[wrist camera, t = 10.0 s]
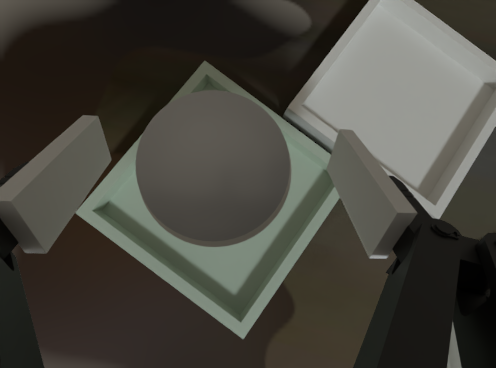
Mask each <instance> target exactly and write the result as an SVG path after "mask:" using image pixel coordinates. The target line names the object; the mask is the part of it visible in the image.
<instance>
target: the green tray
mask: <svg viewBox="0 0 496 368" xmlns="http://www.w3.org/2000/svg"><path fill="white" fill-rule="evenodd" d="M207 90H218V91H226V92H231V93H235V94H238V95H241V96H244V97H246V98H248V99H250V100H252V101H253V102H255V103H256V104H258V105H259V106H261V107H262V108H263V109H264V110H265V111H266V112H268V114H269V115H270V116H271V117H272V118H273V119H274V120H275V122H276V123H277V125H278V126H279V128H280V130H281V132H282V134H283V135H284V138H285V141H286V143H287V147H288V150H289V154H290V159H291V168H292V172H291V183H290V189H289V192H288V195H287V198H286V201H285V203H284V205H283V207H282V209H281V210H280V212H279V213H278V215H277V216H276V217H275V219H274V220H273V221H272V222H271V223H270V224H269V225H268V226H267V227H266V228H265V229H264V230H263V231H261V232H260V233H258V234H257V235H256V236H254V237H252V238H250V239H248V240H246V241H243V242H241V243H238V244H234V245H230V246H224V247H204V246H199V245H194V244H191V243H188V242H185V241H183V240H181V239H179V238H176V237H175V236H173V235H172V234H170V233H169V232H167V231H166V230H165V229H164V228H163V227H161V226H160V225H159V224H158V223H157V221H156V220H155V219H154V218H153V217H152V215H151V214H150V212H149V211H148V209H147V208H146V206H145V203H144V201H143V199H142V196H141V193H140V190H139V186H138V183H137V177H136V154H137V149H138V145H139V142H140V139H141V137H142V135H141V136H140V137H139V138H138V140H137V141H136V142H135V143H134V144H133V146H132V147H131V148H130V149H129V150H128V151H127V153H126V154H125V155H124V156H123V157H122V158H121V160H120V161H119V162H118V163H117V164H116V166H115V167H114V168H113V169H112V170H111V171H110V173H109V174H108V175H107V176H106V177H105V178H104V180H103V181H102V182H101V183H100V185H99V186H98V187H97V188H96V189H95V190H94V191H93V193H92V194H91V195H90V196H89V197H88V199H87V200H86V201H85V202H84V203H83V204H82V206H81V207H80V208H79V209H78V210H77V211H76V214H77V215H79V216H80V217H82V218H83V219H84V220H86V221H87V222H88V223H89V224H91V225H92V226H93V227H95V228H96V229H97V230H99V231H100V232H101V233H103V234H104V235H105V236H107V237H108V238H109V239H111V240H112V241H113V242H115V243H116V244H117V245H119V246H120V247H121V248H123V249H124V250H125V251H127V252H128V253H129V254H131V255H132V256H133V257H135V258H136V259H137V260H139V261H140V262H141V263H143V264H144V265H145V266H147V267H148V268H149V269H151V270H152V271H153V272H155V273H156V274H157V275H159V276H160V277H161V278H163V279H164V280H165V281H166V282H168V283H169V284H170V285H172V286H173V287H174V288H176V289H177V290H179V291H180V292H181V293H183V294H184V295H185V296H186V297H188V298H189V299H191V300H192V301H193V302H194V303H196V304H197V305H199V306H200V307H201V308H202V309H204V310H205V311H206V312H208V313H209V314H210V315H212V316H213V317H214V318H216V319H217V320H218V321H220V322H221V323H222V324H224V325H225V326H226V327H228V328H229V329H230V330H232V331H233V332H234V333H236V334H237V335H238V336H240V337H241V338H242V339H244V337H245V336H246V334H247V333H248V331H249V330H250V328H251V327H252V326H253V324H254V323H255V321H256V320H257V318H258V317H259V315H260V314H261V312H262V311H263V309H264V308H265V306H266V305H267V303H268V302H269V301H270V299H271V298H272V296H273V295H274V293H275V292H276V290H277V289H278V287H279V286H280V284H281V283H282V281H283V280H284V279H285V277H286V276H287V274H288V273H289V271H290V270H291V268H292V267H293V265H294V264H295V262H296V261H297V259H298V258H299V257H300V255H301V254H302V252H303V251H304V249H305V248H306V246H307V245H308V243H309V242H310V240H311V239H312V237H313V236H314V235H315V233H316V232H317V230H318V229H319V227H320V226H321V224H322V223H323V221H324V220H325V218H326V217H327V215H328V214H329V213H330V211H331V210H332V208H333V207H334V205H335V204H336V202H337V201H338V199H339V198H340V196H339V194H338V192H337V190H336V188H335V186H334V184H333V182H332V179H331V177H330V175H329V173H328V171H327V166H328V163H329V160H330V157H331V154H329V153H328V152H327V151H325V150H324V149H323V148H321V147H320V146H319V145H317V144H316V143H315V142H313V141H312V140H311V139H309V138H308V137H307V136H305V135H304V134H303V133H301V132H300V131H299V130H297V129H296V128H295V127H293V126H292V125H291V124H289V123H288V122H287V121H285V120H284V119H283V118H281V117H280V116H279V115H277V114H276V113H274V112H273V111H272V110H270V109H269V108H268V107H266V106H265V105H264V104H262V103H261V102H260V101H258V100H257V99H256V98H254V97H253V96H252V95H250V94H249V93H248V92H246V91H245V90H244V89H242V88H241V87H240V86H238V85H237V84H236V83H234V82H233V81H232V80H230V79H229V78H228V77H226V76H225V75H224V74H222V73H221V72H220V71H218V70H217V69H216V68H214V67H213V66H212V65H210V64H209V63H208V62H206V61H204V62H203V63H202V64H201V66H200V67H199V68H198V69H197V70H196V71H195V73H194V74H193V75H192V76H191V77H190V78H189V80H188V81H187V82H186V83H185V84H184V86H183V87H182V88H181V89H180V90H179V91H178V93H177V94H176V95H175V96H174V97H173V98H172V100H171V101H170V102H169V103H171V102H172V101H174V100H176V99H178V98H180V97H182V96H185V95H187V94H191V93H194V92H199V91H207ZM169 103H168V104H169ZM168 104H167V105H168Z"/></svg>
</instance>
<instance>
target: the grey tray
mask: <svg viewBox="0 0 496 368" xmlns="http://www.w3.org/2000/svg"><path fill="white" fill-rule="evenodd" d="M282 117H283V118H285V119H286V120H287V121H289V122H290V123H291V124H293V125H294V126H295V127H297V128H298V129H299V130H301V131H302V132H303V133H305V134H306V135H307V136H309V137H310V138H311V139H313V140H314V141H315V142H317V143H318V144H319V145H321V146H322V147H323V148H325V149H326V150H327V151H329V152H330V153H332V150H333V147H334V144H335V141H336V138H337V135H338V132H339V129H347V130H353V131H354V132H355V134H356V135H357V136H358V137H359V139H360V140H361V141H362V143H363V144H364V145H365V146H366V148H367V149H368V150H369V152H370V153H371V154H372V155H373V157H374V158H375V159H376V161H377V162H378V163H379V164H380V166H381V167H382V168H383V169H384V171H385V172H386V173H387V175H388V176H394V177H396V178H397V179H398V180H400V181H401V182H403V183H404V185H405V186H406V187H407V188H408V189H409V191H410V192H411V193H412V194H413V195H414V198H416V199H417V200H418V202H419V203H420V204H421V205H422V206H423V208H424V209H425V210H426V211H427V212H428V214H429V215H430V216H431V217H432V218H436V219H439V218H440V217H441V215H442V213H443V212H444V210H445V208H446V207H447V205H448V203H449V202H450V200H451V198H452V197H453V195H454V194H455V192H456V190H457V189H458V187H459V185H460V184H461V182H462V180H463V179H464V177H465V175H466V174H467V172H468V170H469V169H470V167H471V166H472V164H473V162H474V161H475V159H476V157H477V156H478V154H479V152H480V151H481V149H482V147H483V146H484V144H485V142H486V141H487V139H488V137H489V136H490V134H491V133H492V131H493V129H494V128H495V126H496V61H495V60H494V59H492V58H491V57H490V56H488V55H487V54H486V53H484V52H483V51H481V50H480V49H479V48H477V47H476V46H475V45H473V44H472V43H471V42H469V41H468V40H467V39H465V38H464V37H463V36H461V35H460V34H459V33H457V32H456V31H454V30H453V29H452V28H450V27H449V26H448V25H446V24H445V23H444V22H442V21H441V20H440V19H438V18H437V17H436V16H434V15H433V14H432V13H430V12H429V11H428V10H426V9H425V8H423V7H422V6H421V5H419V4H418V3H417V2H415V1H414V0H369V1H368V3H367V4H366V5H365V6H364V8H363V9H362V10H361V12H360V13H359V14H358V16H357V17H356V18H355V20H354V21H353V22H352V24H351V25H350V26H349V27H348V29H347V30H346V31H345V33H344V34H343V35H342V37H341V38H340V39H339V41H338V42H337V43H336V45H335V46H334V47H333V48H332V50H331V51H330V52H329V54H328V55H327V56H326V58H325V59H324V60H323V62H322V63H321V64H320V65H319V67H318V68H317V69H316V71H315V72H314V73H313V75H312V76H311V77H310V79H309V80H308V81H307V83H306V84H305V85H304V86H303V88H302V89H301V90H300V92H299V93H298V94H297V96H296V97H295V98H294V100H293V101H292V102H291V104H290V105H289V106H288V107H287V109H286V111H285V113H284V115H283V116H282Z"/></svg>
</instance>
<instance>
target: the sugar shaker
mask: <svg viewBox="0 0 496 368" xmlns="http://www.w3.org/2000/svg"><path fill="white" fill-rule="evenodd" d="M291 172H292V168H291V159H290V154H289V150H288V147H287V143H286V141H285V138H284V135H283V134H282V132H281V130H280V128H279V126H278V125H277V123H276V122H275V120H274V119H273V118H272V117H271V116H270V115H269V114H268V112H266V111H265V110H264V109H263V108H262V107H261V106H259V105H258V104H256V103H255V102H253V101H252V100H250V99H248V98H246V97H244V96H241V95H238V94H235V93H231V92H226V91H218V90H207V91H199V92H194V93H191V94H187V95H185V96H182V97H180V98H178V99H176V100H174V101H172V102H171V103H169V104H168V105H166V106H165V107H164V108H163V109H161V110H160V111H159V112H158V113H157V114H156V115H155V116H154V117H153V119H152V120H151V121H150V123H149V124H148V125H147V127H146V129H145V131H144V132H143V134H142V137H141V139H140V142H139V145H138V149H137V154H136V177H137V183H138V186H139V190H140V193H141V196H142V199H143V201H144V203H145V206H146V208H147V209H148V211H149V212H150V214H151V215H152V217H153V218H154V219H155V220H156V221H157V223H158V224H159V225H160V226H161V227H163V228H164V229H165V230H166V231H167V232H169V233H170V234H172V235H173V236H175V237H176V238H179V239H181V240H183V241H185V242H188V243H191V244H194V245H199V246H204V247H224V246H230V245H234V244H238V243H241V242H243V241H246V240H248V239H250V238H252V237H254V236H256V235H257V234H258V233H260V232H261V231H263V230H264V229H265V228H266V227H267V226H268V225H269V224H270V223H271V222H272V221H273V220H274V219H275V217H276V216H277V215H278V213H279V212H280V210H281V209H282V207H283V205H284V203H285V201H286V198H287V195H288V192H289V189H290V183H291Z"/></svg>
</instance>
